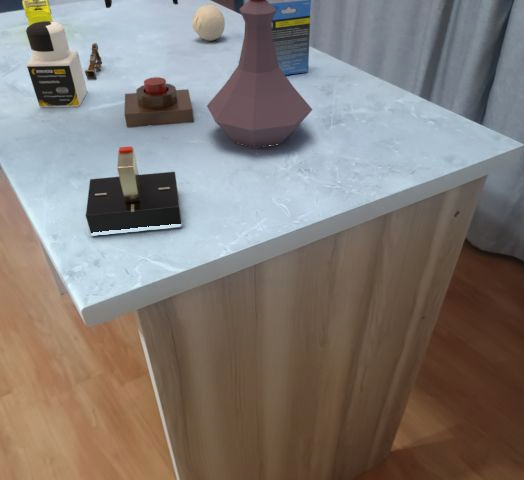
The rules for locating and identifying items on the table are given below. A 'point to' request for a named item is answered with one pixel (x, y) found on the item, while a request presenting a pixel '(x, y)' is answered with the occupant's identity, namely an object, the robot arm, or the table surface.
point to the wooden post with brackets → (94, 63)
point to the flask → (258, 87)
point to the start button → (155, 86)
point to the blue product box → (292, 36)
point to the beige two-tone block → (128, 174)
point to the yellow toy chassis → (37, 10)
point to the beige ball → (208, 22)
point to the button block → (158, 107)
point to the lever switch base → (133, 203)
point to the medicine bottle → (54, 67)
